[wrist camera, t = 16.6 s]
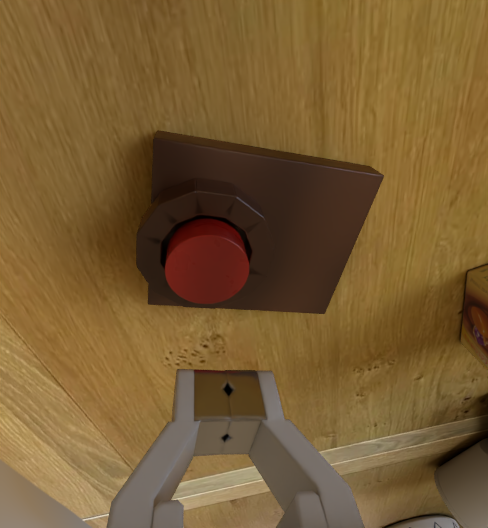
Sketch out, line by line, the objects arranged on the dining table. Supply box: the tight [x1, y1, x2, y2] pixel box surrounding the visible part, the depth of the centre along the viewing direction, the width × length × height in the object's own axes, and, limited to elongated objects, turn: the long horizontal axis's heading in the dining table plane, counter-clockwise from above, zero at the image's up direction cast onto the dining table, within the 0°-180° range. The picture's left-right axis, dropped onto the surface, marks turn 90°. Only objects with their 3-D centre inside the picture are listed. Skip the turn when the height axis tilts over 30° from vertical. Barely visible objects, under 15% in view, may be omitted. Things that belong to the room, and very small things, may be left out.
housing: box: [136, 131, 384, 314], centre depth 18 cm, size 12×10×4 cm
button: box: [165, 219, 249, 304], centre depth 16 cm, size 4×4×2 cm
